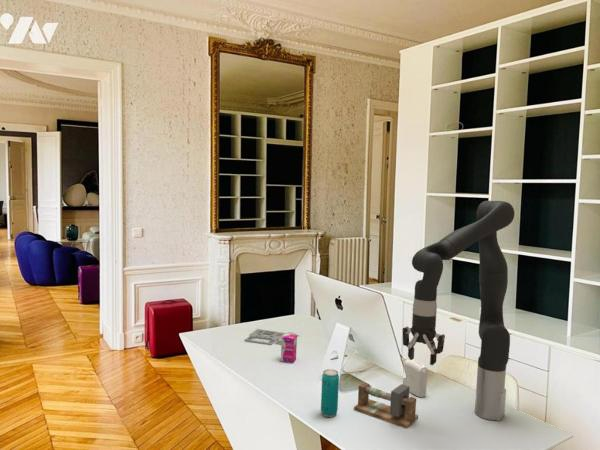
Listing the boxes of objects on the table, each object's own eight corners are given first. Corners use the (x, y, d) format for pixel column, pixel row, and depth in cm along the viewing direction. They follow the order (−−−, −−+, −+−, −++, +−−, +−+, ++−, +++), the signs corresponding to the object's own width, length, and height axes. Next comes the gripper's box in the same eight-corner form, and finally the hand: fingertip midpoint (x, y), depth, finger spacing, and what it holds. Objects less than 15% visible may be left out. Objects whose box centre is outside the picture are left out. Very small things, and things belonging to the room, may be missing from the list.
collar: (408, 408, 171) (409, 386, 170) (398, 417, 165) (399, 393, 164) (400, 406, 173) (401, 384, 172) (389, 414, 167) (391, 391, 166)
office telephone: (299, 332, 257) (286, 343, 238) (298, 337, 257) (286, 348, 238) (257, 326, 264) (242, 336, 245) (257, 331, 264) (242, 342, 245)
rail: (418, 418, 170) (419, 395, 169) (406, 428, 162) (408, 404, 162) (366, 401, 182) (367, 380, 181) (354, 410, 174) (355, 388, 174)
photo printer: (400, 388, 195) (402, 357, 194) (409, 386, 197) (410, 356, 196) (419, 398, 186) (421, 366, 185) (427, 396, 188) (429, 364, 187)
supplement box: (280, 362, 218) (281, 336, 217) (284, 357, 224) (284, 333, 223) (293, 363, 217) (294, 338, 216) (296, 359, 222) (297, 334, 221)
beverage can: (327, 408, 175) (328, 367, 173) (340, 414, 171) (342, 372, 170) (317, 414, 170) (318, 372, 169) (330, 419, 166) (332, 376, 165)
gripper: (450, 314, 160) (447, 364, 162) (408, 306, 169) (406, 353, 170) (441, 318, 154) (438, 370, 156) (399, 310, 163) (396, 359, 164)
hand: (421, 361), depth 163 cm, fingers open, 6 cm apart
